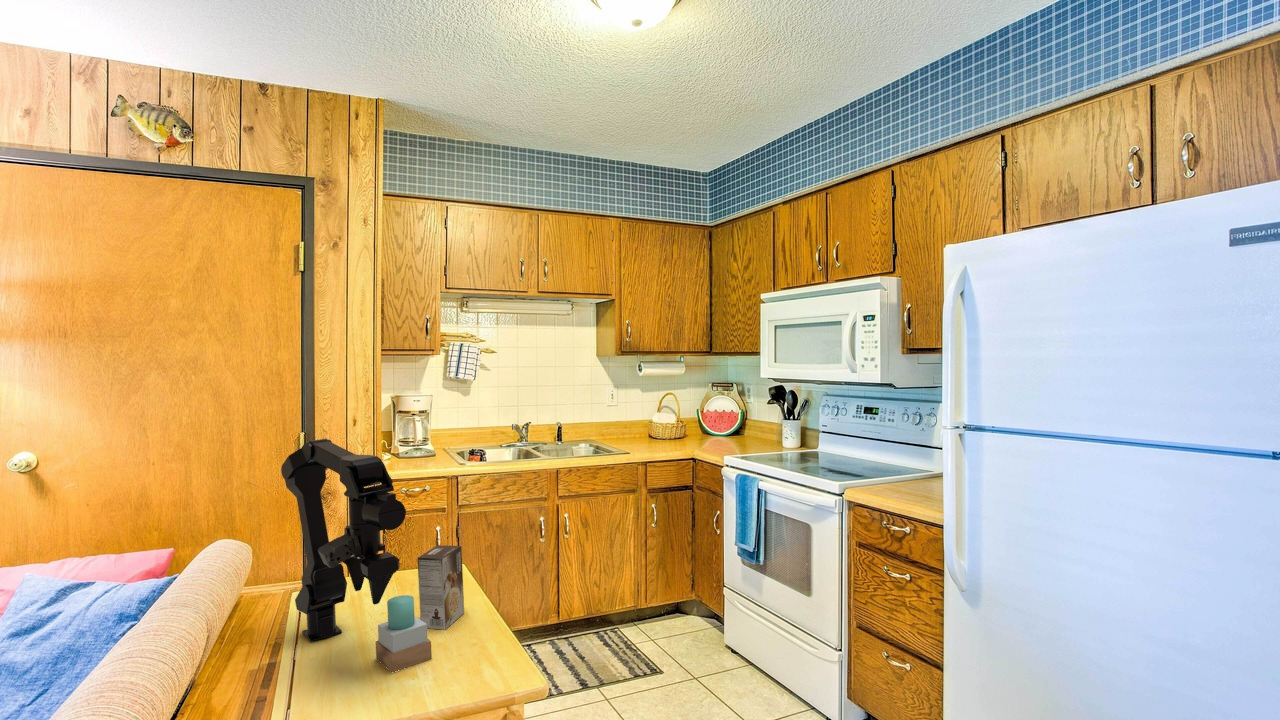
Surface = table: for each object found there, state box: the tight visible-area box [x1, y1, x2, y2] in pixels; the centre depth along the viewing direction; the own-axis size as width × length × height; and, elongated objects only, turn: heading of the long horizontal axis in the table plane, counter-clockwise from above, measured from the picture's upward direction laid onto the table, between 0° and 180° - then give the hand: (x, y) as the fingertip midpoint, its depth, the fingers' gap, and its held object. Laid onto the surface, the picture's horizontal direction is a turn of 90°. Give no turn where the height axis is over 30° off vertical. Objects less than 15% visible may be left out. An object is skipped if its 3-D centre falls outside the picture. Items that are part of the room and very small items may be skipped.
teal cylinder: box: [386, 594, 416, 630], centre depth 135 cm, size 5×5×5 cm
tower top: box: [377, 616, 429, 653], centre depth 135 cm, size 7×7×4 cm
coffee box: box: [417, 544, 465, 630], centre depth 153 cm, size 9×6×16 cm
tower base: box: [375, 638, 433, 673], centre depth 135 cm, size 8×8×4 cm
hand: (366, 597), depth 136 cm, fingers open, 9 cm apart
